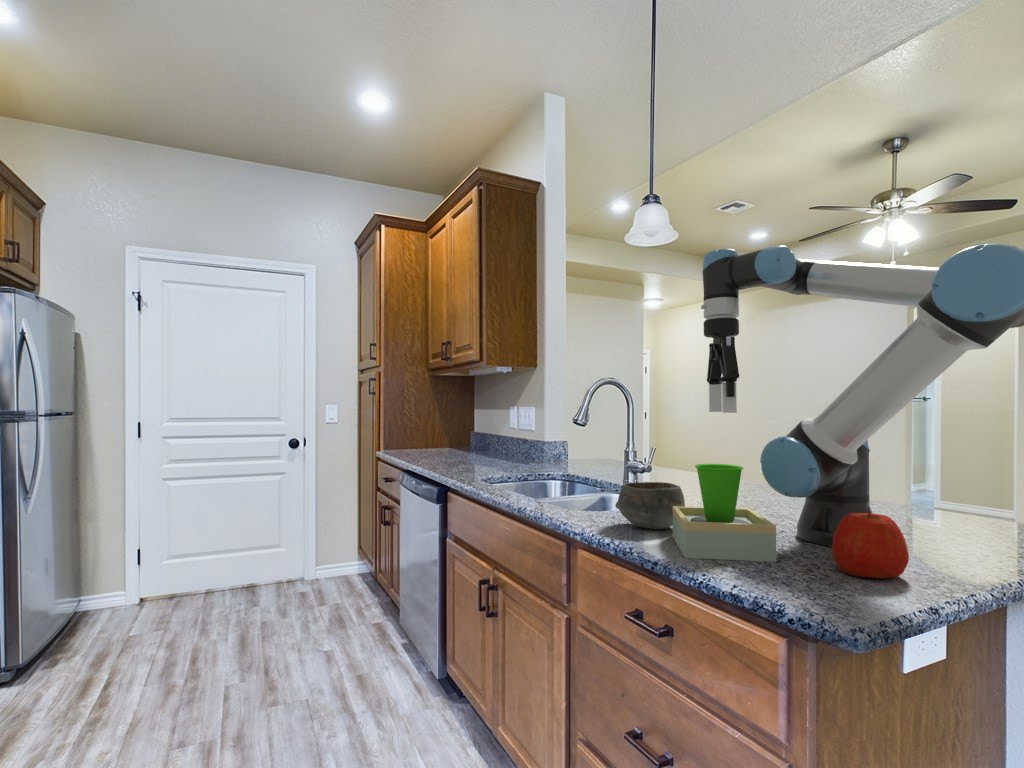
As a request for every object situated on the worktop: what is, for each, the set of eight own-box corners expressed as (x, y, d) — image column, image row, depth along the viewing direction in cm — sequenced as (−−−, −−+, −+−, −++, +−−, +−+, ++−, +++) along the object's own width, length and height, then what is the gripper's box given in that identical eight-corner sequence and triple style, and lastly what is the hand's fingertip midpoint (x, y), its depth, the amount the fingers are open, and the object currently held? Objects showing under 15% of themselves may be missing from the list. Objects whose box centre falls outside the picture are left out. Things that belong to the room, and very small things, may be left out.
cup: (749, 528, 101) (748, 469, 101) (698, 525, 103) (698, 468, 103) (738, 518, 110) (738, 464, 110) (692, 516, 112) (692, 463, 112)
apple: (881, 589, 83) (879, 519, 83) (816, 569, 93) (815, 507, 93) (923, 580, 87) (922, 514, 88) (857, 562, 97) (856, 503, 98)
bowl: (693, 535, 117) (692, 489, 117) (622, 535, 117) (622, 488, 117) (674, 521, 131) (674, 480, 131) (611, 521, 131) (611, 479, 131)
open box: (751, 539, 113) (750, 508, 113) (776, 561, 97) (775, 525, 97) (672, 536, 115) (672, 506, 116) (684, 557, 99) (684, 522, 100)
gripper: (694, 327, 135) (694, 411, 134) (715, 309, 110) (716, 412, 110) (725, 326, 134) (726, 411, 133) (754, 309, 109) (755, 413, 108)
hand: (722, 412), depth 121 cm, fingers open, 13 cm apart
